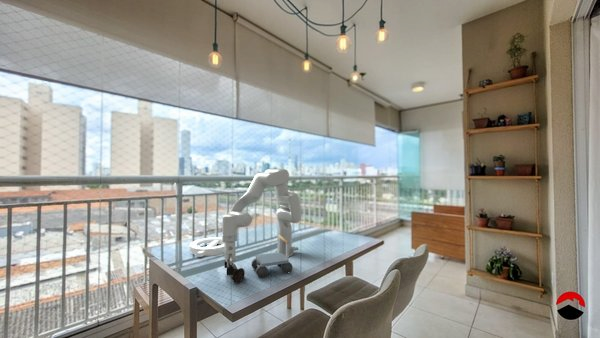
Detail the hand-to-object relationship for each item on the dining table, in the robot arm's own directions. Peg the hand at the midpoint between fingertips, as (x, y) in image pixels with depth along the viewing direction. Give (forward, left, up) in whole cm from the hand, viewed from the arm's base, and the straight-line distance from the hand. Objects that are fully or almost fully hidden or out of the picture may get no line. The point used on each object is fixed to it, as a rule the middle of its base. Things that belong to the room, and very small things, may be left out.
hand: (228, 271), depth 125 cm
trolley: (-23, 0, -4) cm, 24 cm away
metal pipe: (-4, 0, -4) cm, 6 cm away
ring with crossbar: (+6, -52, -4) cm, 53 cm away
